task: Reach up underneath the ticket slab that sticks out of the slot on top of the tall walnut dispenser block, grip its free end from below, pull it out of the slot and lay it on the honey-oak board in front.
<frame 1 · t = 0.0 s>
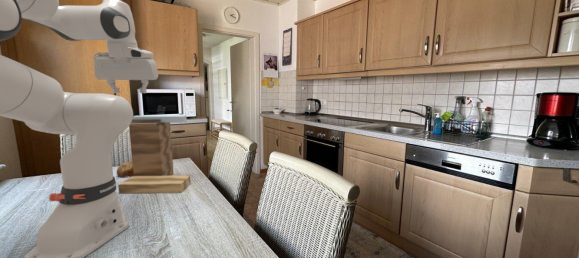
hand: (129, 92, 89), 39 cm above the table, tool pointing down, fingers open, 8 cm apart
bread roll: (130, 174, 119), on the table
dispenser: (155, 178, 113), on the table
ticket: (159, 121, 109), point 26 cm above the table, touching dispenser
board: (156, 187, 102), on the table
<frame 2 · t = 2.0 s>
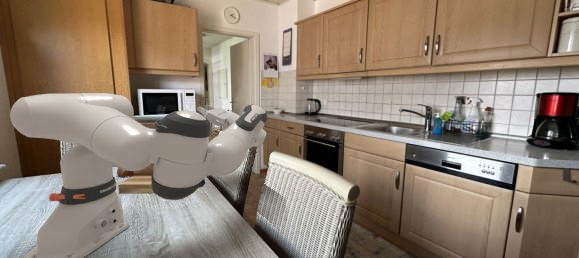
hand: (201, 107, 105), 33 cm above the table, tool pointing upward, fingers open, 8 cm apart
nothing on the table moved.
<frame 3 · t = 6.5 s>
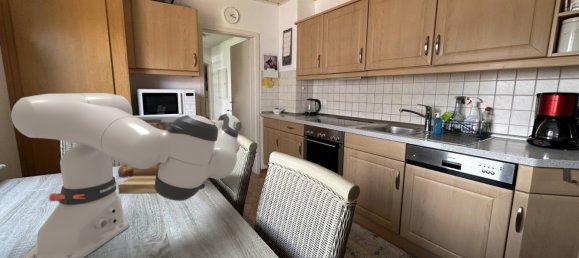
hand: (177, 117, 109), 28 cm above the table, tool pointing upward, fingers closed on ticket, 4 cm apart
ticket: (159, 121, 109), point 26 cm above the table, touching dispenser, gripper
everything else where it was.
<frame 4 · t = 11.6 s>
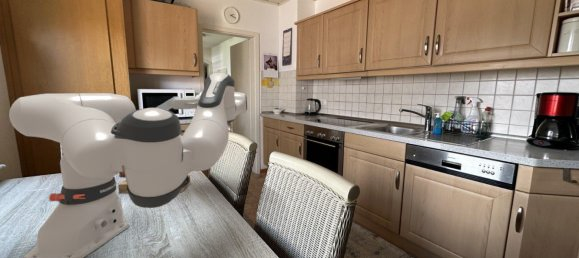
hand: (170, 102, 97), 35 cm above the table, tool horizontal, fingers closed on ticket, 4 cm apart
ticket: (156, 116, 98), point 30 cm above the table, tilted 30°, touching gripper
everything else where it was.
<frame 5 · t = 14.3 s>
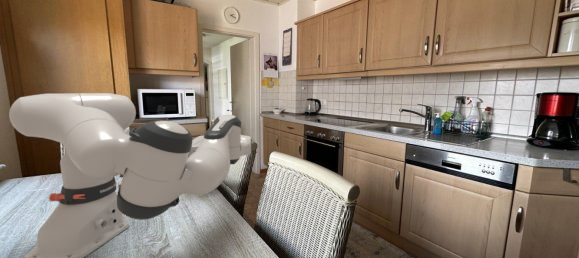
hand: (179, 144, 102), 18 cm above the table, tool horizontal, fingers closed on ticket, 4 cm apart
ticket: (165, 157, 103), point 12 cm above the table, tilted 29°, touching gripper
when the fingers open (7 cm above the table, at t = 16.4 s): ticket drops 1 cm, resting on board.
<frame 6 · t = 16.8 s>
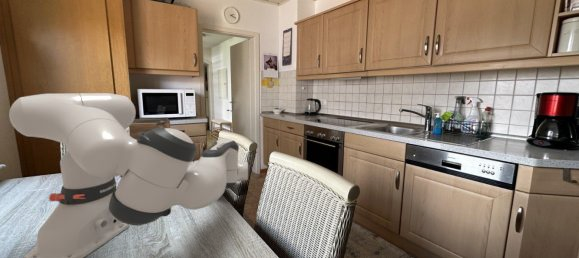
hand: (175, 171, 102), 7 cm above the table, tool horizontal, fingers open, 8 cm apart
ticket: (160, 179, 102), point 3 cm above the table, touching board
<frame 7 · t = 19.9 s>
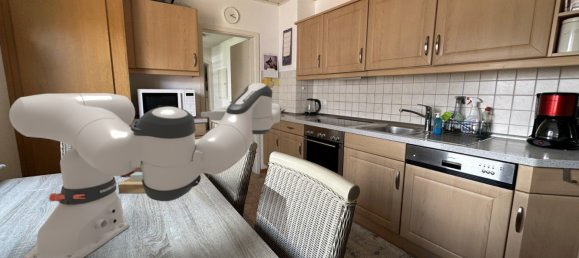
hand: (205, 113, 99), 31 cm above the table, tool horizontal, fingers open, 8 cm apart
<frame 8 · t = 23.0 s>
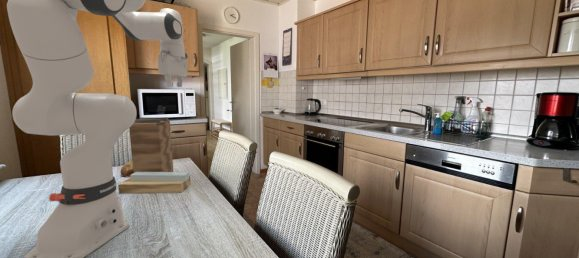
hand: (175, 86, 104), 41 cm above the table, tool pointing down, fingers open, 8 cm apart
at the end: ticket inside the target area on the board (1.2 cm from its centre), point 3.5 cm above the board's base; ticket touching board; the gripper is holding nothing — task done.
